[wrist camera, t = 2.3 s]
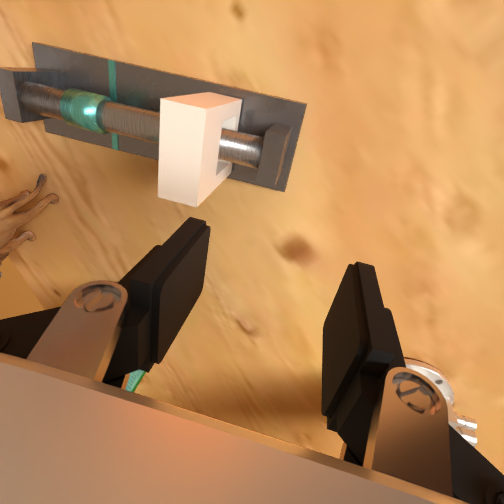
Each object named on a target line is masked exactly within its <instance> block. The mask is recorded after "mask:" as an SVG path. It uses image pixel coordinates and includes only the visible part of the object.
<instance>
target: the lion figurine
mask: <svg viewBox="0 0 504 504" xmlns="http://www.w3.org/2000/svg"><path fill="white" fill-rule="evenodd" d="M45 181H46V180H45V176H44V174H40V175H39V179H38V181H37V186H36V188H35V190H34V191H33V192H32V193H31V194H30V193H29V192H28V191H22V192H21V194H20V195H19V196H17V197H14V198H11V199H8V200H5V201H1V202H0V266H1V261H3V260H4V259H5V258H6V257H7V256H8V254H9V252H10V251H11V250H13V249H15V248H17V247H18V246H20V245H21V244H22V243H23V242H24V241H25V240H30V241H33V240H36V237H35V235H34V234H33V233H32V232H30V231H27V232H23V233H22V234H21V235H20V236H19V237H17V238H15V239H11V238H12V237H13V235H14V233H15V231H16V229H17V228H18V227H20V226H22V225H24V224H25V223H27V222H29V221H31V220H32V219H33V218H35V217H36V216H37V215H38V214H39V213H40V212H41V210H42V209H43V208H44V207H45V206H47V205H48V204H49V203H52V204H55V203H57V202H58V197H57V196H55V195H54V194H50V195H48V196H46V197H45V198H43V199H42V200H40V201H39V202H38V204H37V205H36V206H34V207H33V208H30V209H28V210H25V211H20V212H14V211H15V210H16V209H18V208H20V207H21V206H23V205H24V204H26V203H27V202H29V201H30V200H31V199H33V198H34V197H35V196H36V195H37V194H38V193H39V192H40V190H41V188H42V186H43V184H44V183H45ZM1 276H2V273H1V272H0V277H1Z"/></svg>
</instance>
